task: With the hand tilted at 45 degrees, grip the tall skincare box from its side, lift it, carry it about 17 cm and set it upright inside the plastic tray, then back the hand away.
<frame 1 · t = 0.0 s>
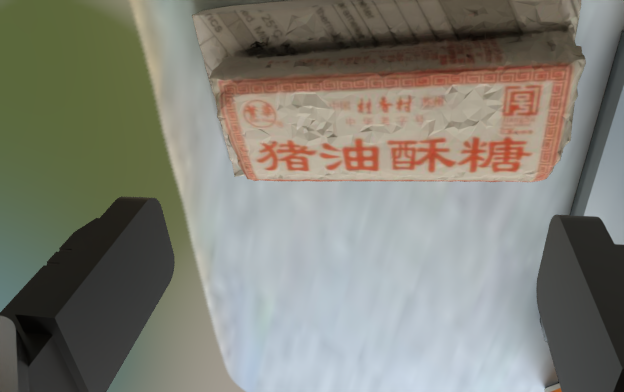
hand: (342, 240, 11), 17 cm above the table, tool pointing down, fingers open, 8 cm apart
packaged product: (380, 85, 28), on the table
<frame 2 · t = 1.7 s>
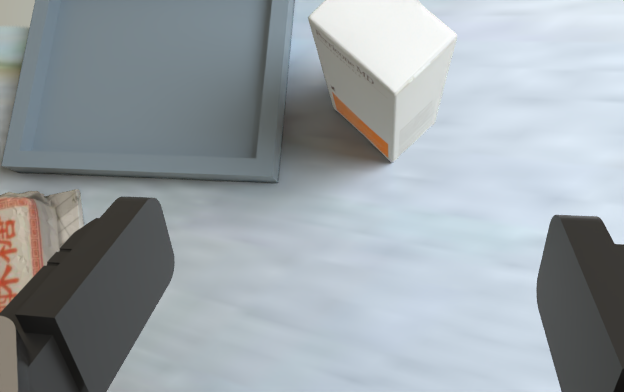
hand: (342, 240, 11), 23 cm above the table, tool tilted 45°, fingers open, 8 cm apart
tray: (157, 74, 39), on the table
packaged product: (33, 326, 37), on the table
skincare box: (383, 117, 35), on the table
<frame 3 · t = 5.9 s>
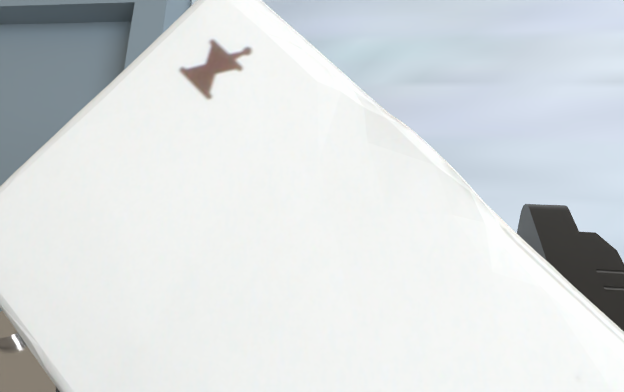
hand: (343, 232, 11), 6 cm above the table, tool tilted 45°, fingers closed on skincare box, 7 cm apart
skincare box: (360, 307, 16), on the table, touching gripper
when the fingers open (7 cm above the table, at t = 12.3 s): skincare box drops 1 cm, resting on tray.
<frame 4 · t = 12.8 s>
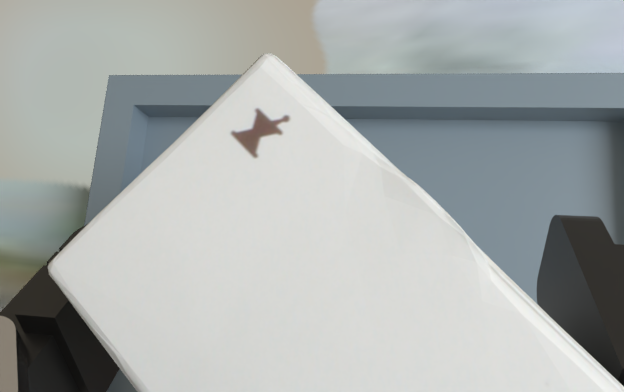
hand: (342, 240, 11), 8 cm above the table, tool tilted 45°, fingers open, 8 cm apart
tray: (362, 308, 18), on the table
skincare box: (366, 314, 18), resting on tray
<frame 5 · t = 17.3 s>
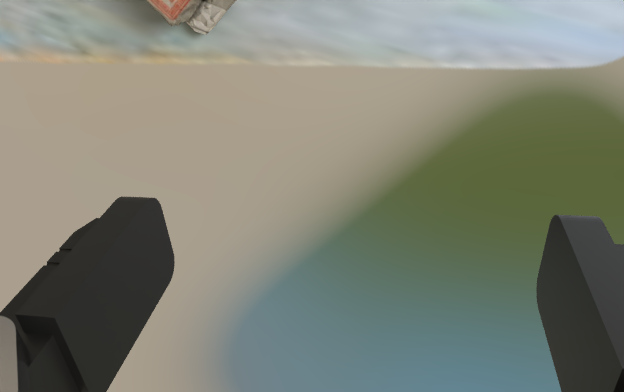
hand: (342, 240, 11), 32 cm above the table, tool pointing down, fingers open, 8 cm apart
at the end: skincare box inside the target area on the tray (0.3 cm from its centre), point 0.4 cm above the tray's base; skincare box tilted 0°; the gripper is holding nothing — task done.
